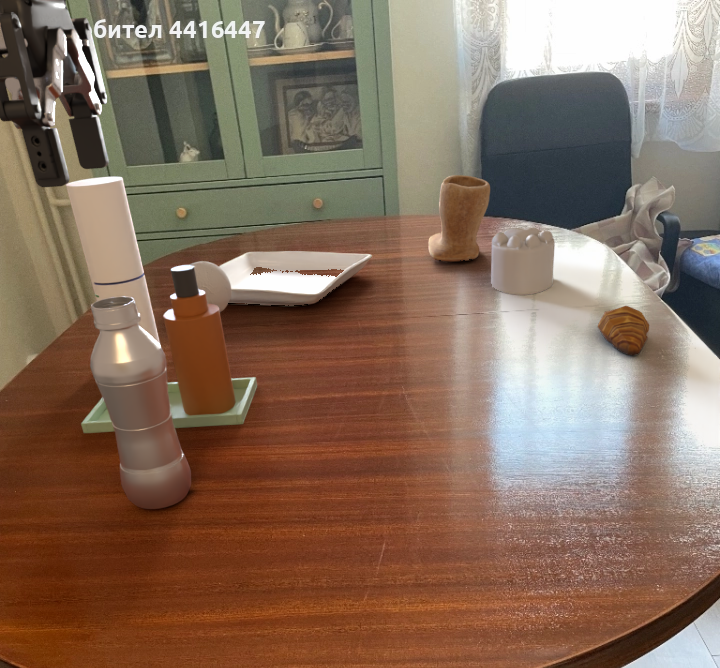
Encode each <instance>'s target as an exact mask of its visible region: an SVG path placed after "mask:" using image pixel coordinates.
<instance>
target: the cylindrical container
mask: <svg viewBox="0 0 720 668" xmlns="http://www.w3.org/2000/svg"><path fill="white" fill-rule="evenodd" d="M65 187H66V188H65V189H66V191H67V195H68V199H69V202H70V207H71V211H72V214H73V218H74V222H75V225H76V230H77V234H78V236H79V237H78V238H79V240H80V244H81V248H82V252H83V255H84V260H85V262H86V268H87V271H88V275H89V279H90V282H91V286H92V290H93V294H94V297H95V302H96V301H99V300H102V299H106V298H111V297H120V296H126V297H132V298H134V300H135V302H136V306H137V310H138V313H139V314H140V317H141V321H140V322H138V323H139V326H140V327H141V328H143V329H144V330H145V331H146V332H147V333H149V334H150V335H151V336H152V337H153V338H154V339H155V340H156V341H157V342H158V343H159V344H160V345H161V341H160V336H159V333H158V329H157V324H156V319H155V315H154V311H153V306H152V301H151V297H150V292H149V289H148V284H147V280H146V275H145V271H144V267H143V263H142V258H141V253H140V248H139V245H138V240H137V236H136V231H135V227H134V221H133V219H132V213H131V210H130V205H129V200H128V196H127V192H126V188H125V182H124V178H123V177H122V176H103V177H102V176H101V177H92V178H86V179H79V180H75V181H72V182H71V181H69V182H68V183H67V184H66V185H65Z"/></svg>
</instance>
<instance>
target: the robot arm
mask: <svg viewBox="0 0 720 668" xmlns="http://www.w3.org/2000/svg"><path fill="white" fill-rule="evenodd" d="M66 1H67V0H0V120H1V122H3V123H4V122H12V123H13V125H14V128H16V129H17V130H21V134H22V136H23V139H24V140H23V141H24V144H25V147H26V151H27V154H28V155H27V156H28V158H29V162H30V165H31V169H32V172H33V176H34V180H35V183H36V185H38V186H39V187H41V188H55V187H64V186H66V184H68V183H70V175H69V170H68V167H67V163H66V159H65V155H64V151H63V146H62V143H61V139H60V135H59V132H58V128H57V127H54V126H55V124H56V122H55V120H56V119H55V116H56V109H55V108H56V100H57V99H59V101H60V102H61V105H62V106H63V109H64V110H65V112H66V114H67V115H68V117H69V118H68V122H69V127H70V131H71V135H72V139H73V143H74V147H75V151H76V155H77V159H78V163H79V166H80V167H81V168H82V169H84V170H93V169H103V168H106V167H108V165H109V162H110V161H109V160H110V159H109V155H108V152H107V148H106V143H105V138H104V133H103V129H102V124H101V120H100V116H101V114H102V105H107V102H108V96H107V93H106V88H105V85H104V80H103V76H102V71H101V67H100V63H99V58H98V54H97V50H96V46H95V43H94V38H93V34H92V30H91V24H90V21H89V20H88V18H87V17H76V18H71V15H70V12H69V9H68V7H67V2H66ZM8 91H9V92H8ZM9 93H10V94H11V100H10V96H9Z"/></svg>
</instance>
